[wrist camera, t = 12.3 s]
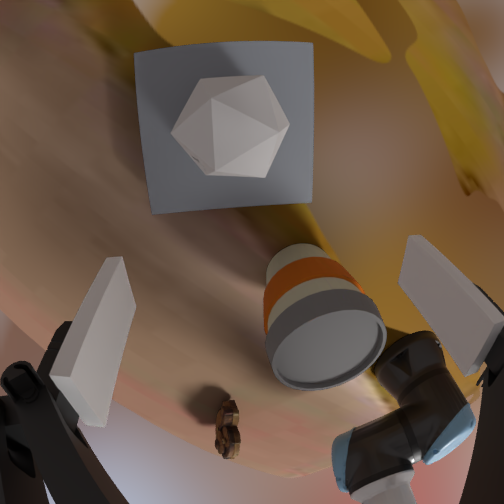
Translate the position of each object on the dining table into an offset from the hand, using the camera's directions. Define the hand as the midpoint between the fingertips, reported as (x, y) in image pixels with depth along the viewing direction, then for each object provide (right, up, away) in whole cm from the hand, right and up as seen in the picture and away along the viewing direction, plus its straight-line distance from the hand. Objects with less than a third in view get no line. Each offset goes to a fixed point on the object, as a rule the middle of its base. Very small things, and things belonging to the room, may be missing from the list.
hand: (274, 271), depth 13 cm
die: (-3, +13, +13) cm, 18 cm away
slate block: (-4, +15, +18) cm, 24 cm away
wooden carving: (-7, -32, +44) cm, 55 cm away
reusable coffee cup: (+5, -2, +28) cm, 29 cm away
